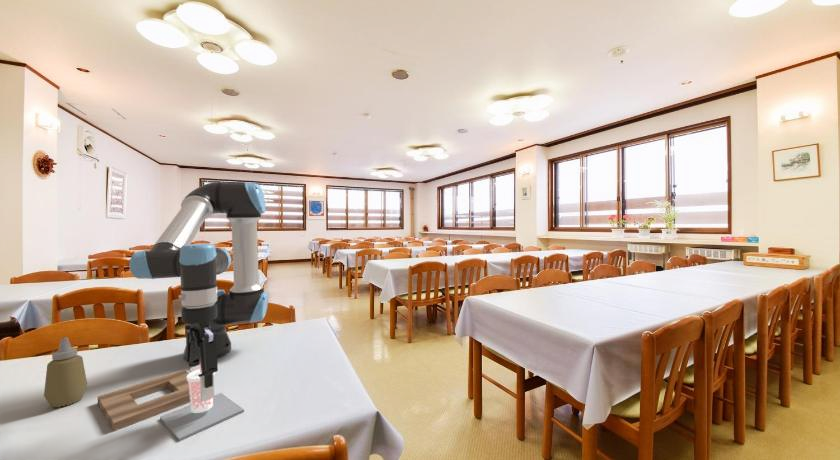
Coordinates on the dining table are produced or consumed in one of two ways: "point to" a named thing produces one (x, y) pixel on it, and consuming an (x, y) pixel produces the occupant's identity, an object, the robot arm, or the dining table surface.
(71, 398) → the squeeze bottle
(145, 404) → the pocket holder
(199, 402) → the beverage cup
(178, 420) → the rubber mat
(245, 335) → the dining table surface
